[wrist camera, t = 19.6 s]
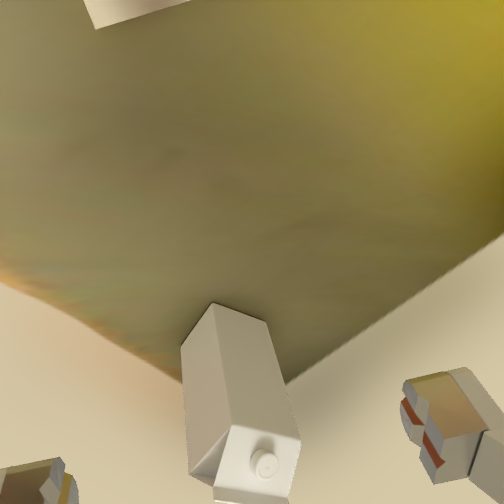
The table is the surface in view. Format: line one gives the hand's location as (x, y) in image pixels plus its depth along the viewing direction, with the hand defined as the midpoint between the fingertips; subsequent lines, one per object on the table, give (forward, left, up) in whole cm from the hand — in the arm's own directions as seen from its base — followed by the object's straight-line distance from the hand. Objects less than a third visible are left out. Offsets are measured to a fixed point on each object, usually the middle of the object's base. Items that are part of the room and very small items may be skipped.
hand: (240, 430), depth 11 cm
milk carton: (+4, +26, -30) cm, 40 cm away
